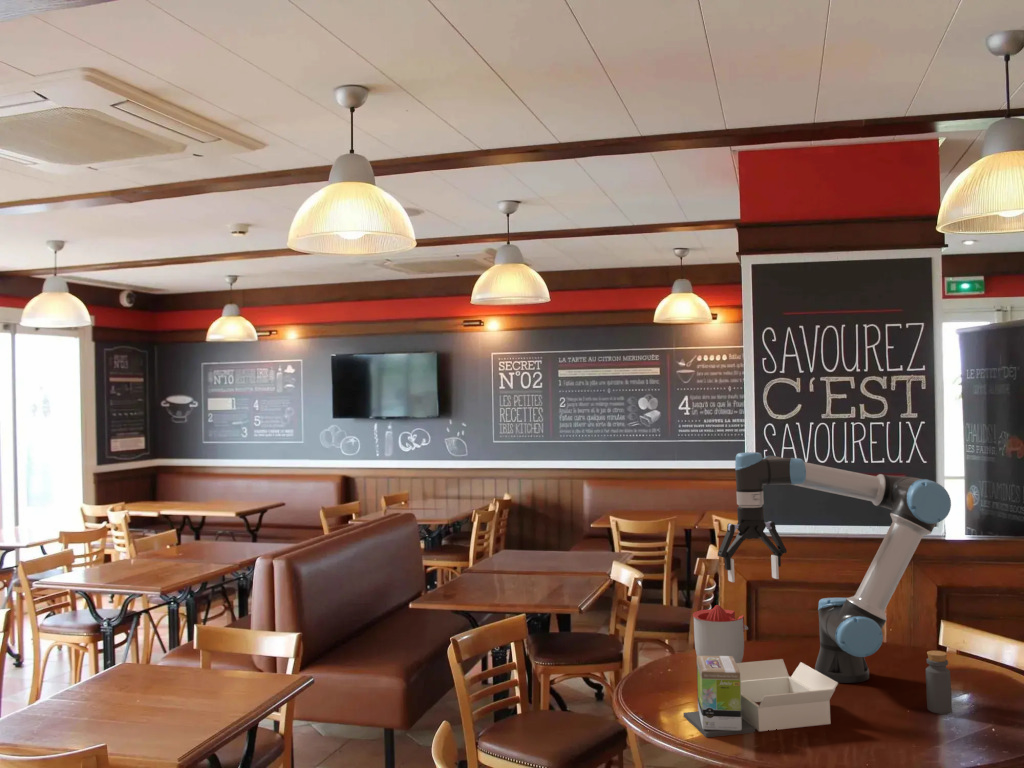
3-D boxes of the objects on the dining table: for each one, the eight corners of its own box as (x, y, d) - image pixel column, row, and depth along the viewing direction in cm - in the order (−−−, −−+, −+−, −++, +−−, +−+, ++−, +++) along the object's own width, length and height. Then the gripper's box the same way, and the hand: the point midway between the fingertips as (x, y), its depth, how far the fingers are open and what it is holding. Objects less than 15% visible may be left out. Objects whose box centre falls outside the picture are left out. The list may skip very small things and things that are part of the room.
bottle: (950, 707, 225) (947, 650, 226) (953, 715, 220) (950, 656, 220) (925, 705, 227) (923, 649, 228) (929, 713, 222) (926, 655, 222)
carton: (795, 692, 241) (793, 657, 241) (849, 727, 214) (847, 687, 214) (719, 700, 237) (718, 664, 237) (765, 736, 210) (763, 695, 210)
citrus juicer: (760, 673, 259) (758, 607, 260) (708, 679, 255) (705, 612, 256) (735, 659, 274) (733, 597, 275) (686, 664, 270) (683, 601, 271)
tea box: (743, 731, 211) (740, 671, 211) (702, 730, 212) (699, 671, 213) (735, 710, 226) (733, 654, 226) (697, 709, 227) (695, 654, 227)
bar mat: (729, 711, 227) (729, 708, 227) (755, 732, 213) (754, 728, 213) (683, 716, 225) (683, 712, 225) (706, 737, 210) (706, 733, 210)
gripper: (715, 509, 239) (718, 585, 239) (796, 505, 244) (800, 579, 243) (704, 506, 247) (707, 580, 246) (783, 502, 251) (787, 574, 250)
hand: (753, 579), depth 244 cm, fingers open, 13 cm apart
